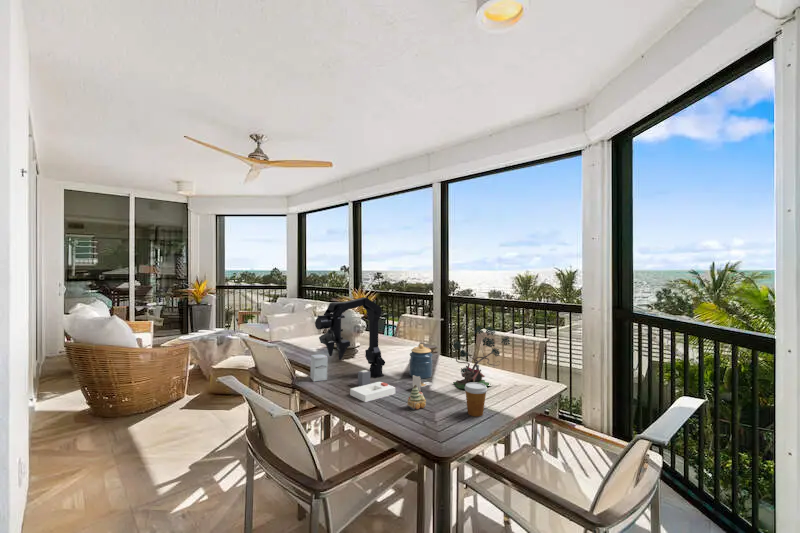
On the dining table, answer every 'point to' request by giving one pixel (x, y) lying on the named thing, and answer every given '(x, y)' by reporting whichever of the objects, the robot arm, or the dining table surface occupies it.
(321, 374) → the supplement box
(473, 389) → the disposable coffee cup
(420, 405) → the ornament
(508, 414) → the dining table surface
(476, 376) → the bonsai tree
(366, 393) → the socket
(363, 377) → the plug
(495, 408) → the dining table surface
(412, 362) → the canister
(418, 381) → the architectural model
